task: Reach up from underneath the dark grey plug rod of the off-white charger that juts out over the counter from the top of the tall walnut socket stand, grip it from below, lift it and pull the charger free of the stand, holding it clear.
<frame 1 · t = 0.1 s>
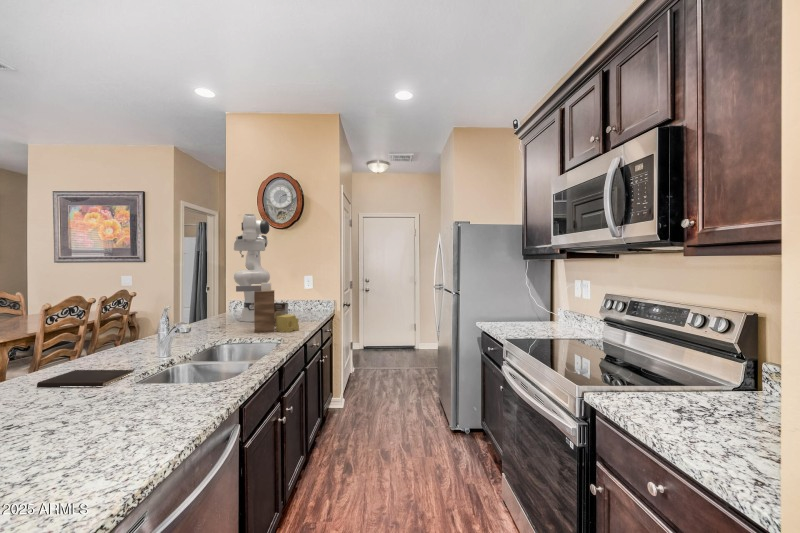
hand: (249, 257, 261), 48 cm above the counter, tool pointing down, fingers open, 8 cm apart
hardcover book: (88, 382, 141), on the counter
stand: (264, 330, 246), on the counter
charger: (264, 290, 246), point 26 cm above the counter, touching stand
cheese: (287, 331, 247), on the counter
coffee box: (280, 326, 266), on the counter
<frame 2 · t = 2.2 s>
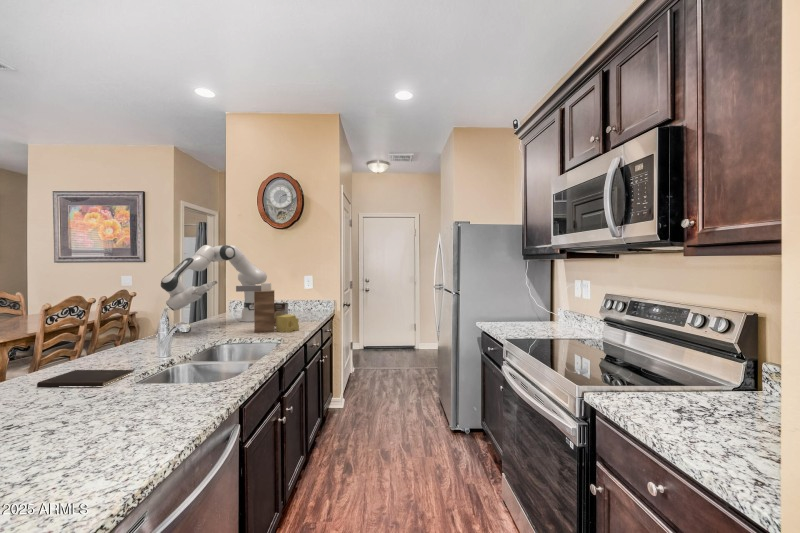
hand: (215, 282, 238), 32 cm above the counter, tool pointing upward, fingers open, 8 cm apart
nothing on the counter moved.
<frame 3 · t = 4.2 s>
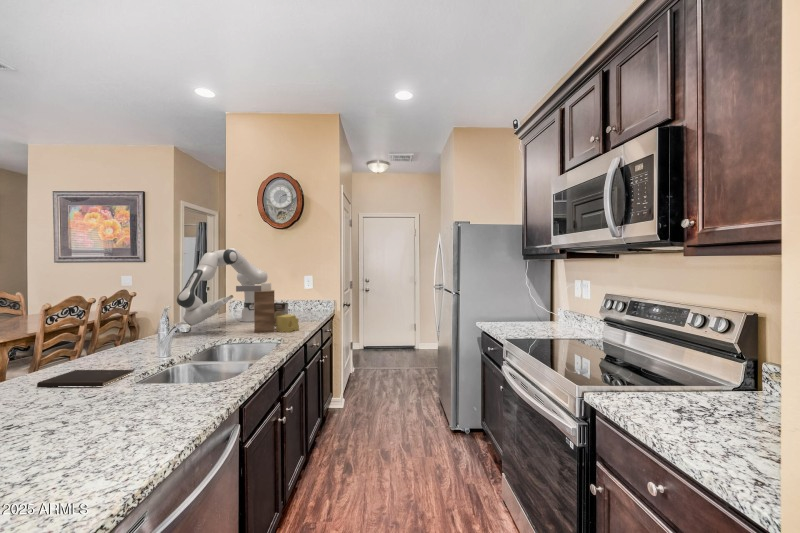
hand: (232, 296, 240), 23 cm above the counter, tool pointing upward, fingers open, 8 cm apart
nothing on the counter moved.
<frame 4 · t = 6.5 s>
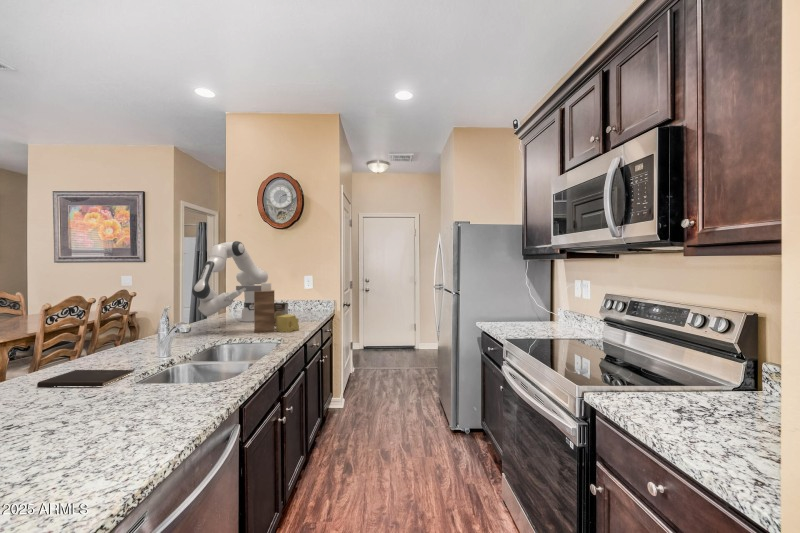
hand: (246, 288, 242), 28 cm above the counter, tool pointing upward, fingers closed on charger, 3 cm apart
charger: (264, 290, 246), point 26 cm above the counter, touching gripper, stand
everything else where it was.
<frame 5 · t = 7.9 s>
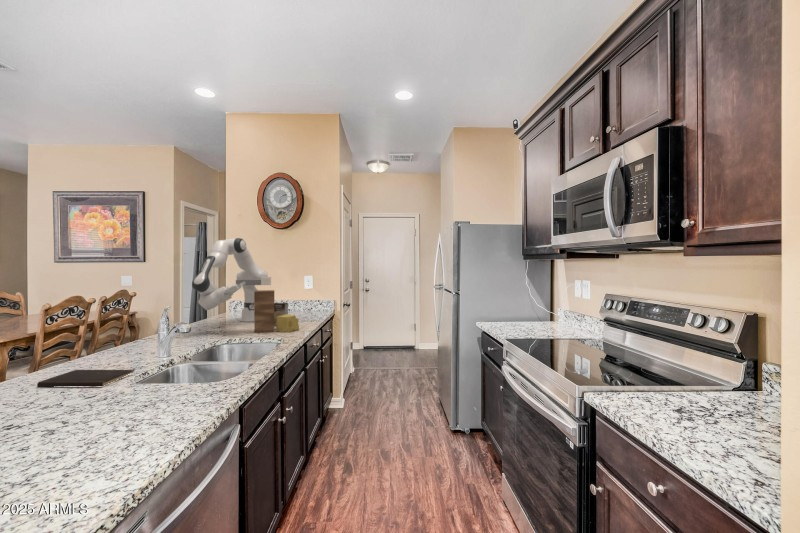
hand: (245, 282, 242), 32 cm above the counter, tool pointing upward, fingers closed on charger, 3 cm apart
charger: (264, 284, 246), point 30 cm above the counter, touching gripper
everything else where it was.
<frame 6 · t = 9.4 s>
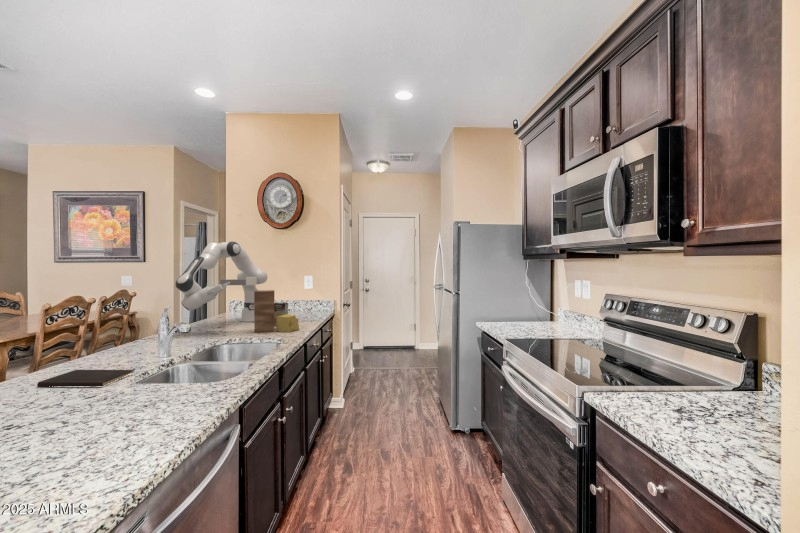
hand: (230, 282, 239), 32 cm above the counter, tool pointing upward, fingers closed on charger, 3 cm apart
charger: (249, 284, 243), point 30 cm above the counter, touching gripper
everything else where it was.
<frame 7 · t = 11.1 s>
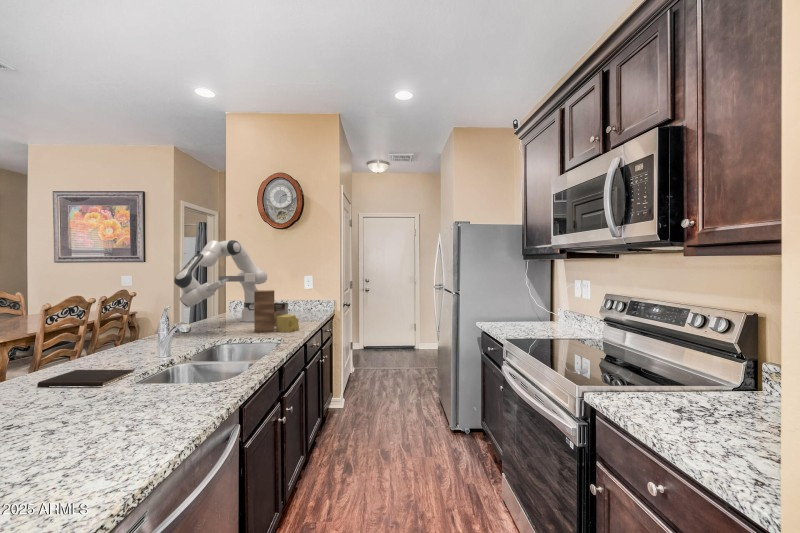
hand: (229, 278, 239), 34 cm above the counter, tool pointing upward, fingers closed on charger, 3 cm apart
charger: (248, 281, 243), point 32 cm above the counter, touching gripper
everything else where it was.
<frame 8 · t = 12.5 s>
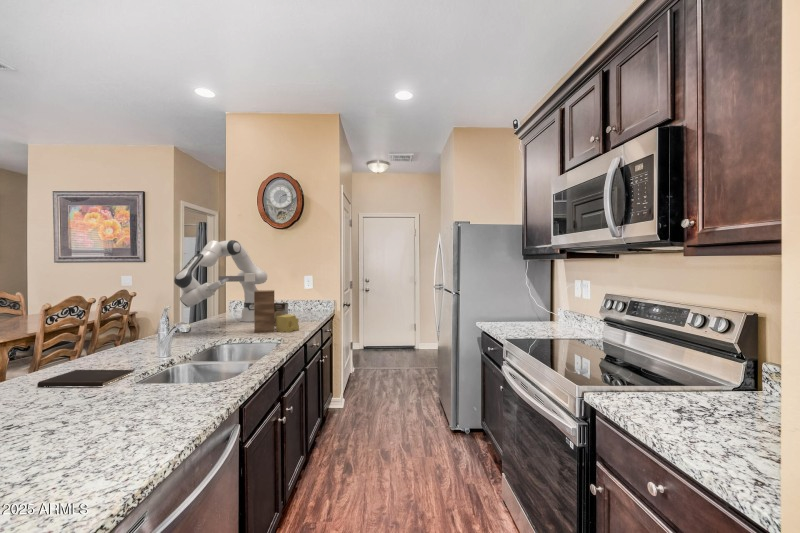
hand: (229, 278, 239), 34 cm above the counter, tool pointing upward, fingers closed on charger, 3 cm apart
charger: (248, 281, 243), point 32 cm above the counter, touching gripper
everything else where it was.
at the end: the gripper is holding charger; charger inside the target area (0.5 cm from its centre), point 32.4 cm above the counter; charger touching gripper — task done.
